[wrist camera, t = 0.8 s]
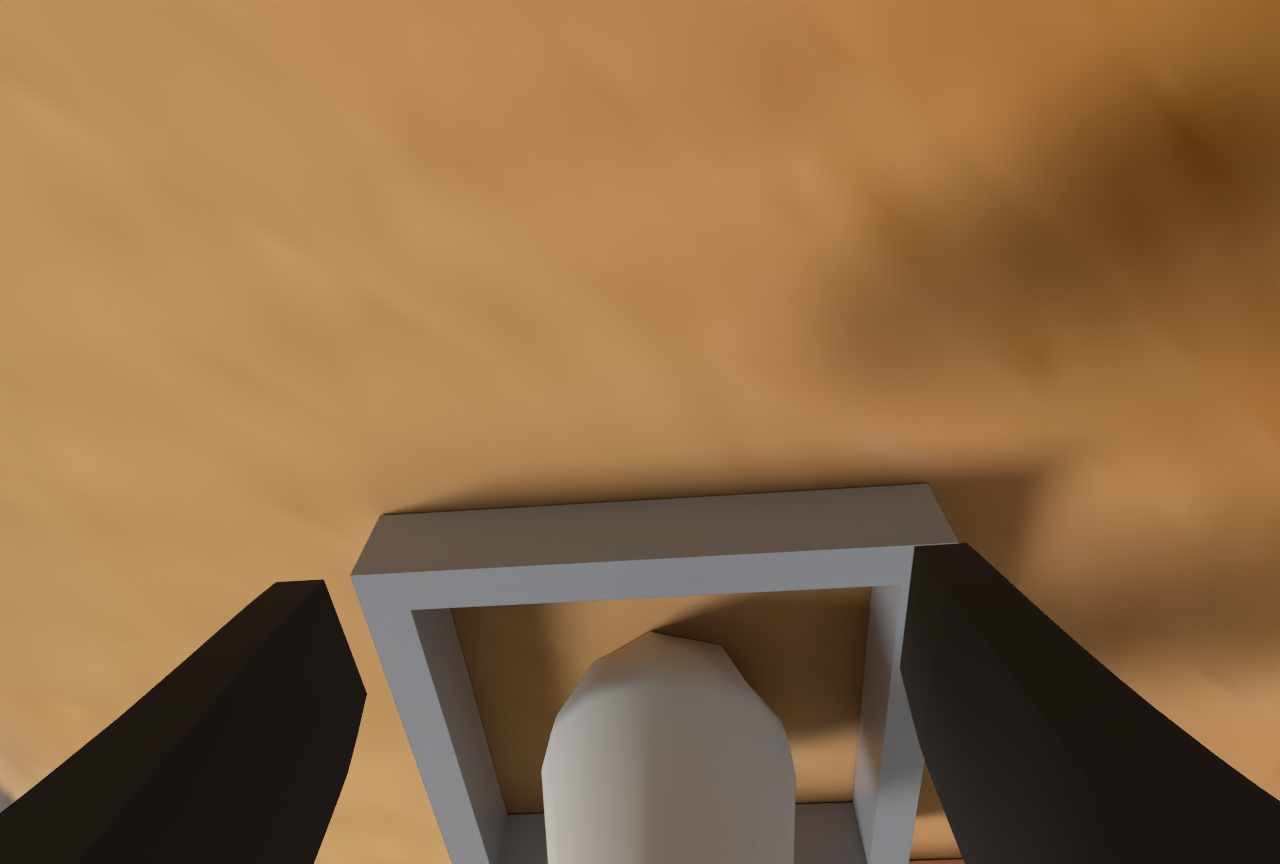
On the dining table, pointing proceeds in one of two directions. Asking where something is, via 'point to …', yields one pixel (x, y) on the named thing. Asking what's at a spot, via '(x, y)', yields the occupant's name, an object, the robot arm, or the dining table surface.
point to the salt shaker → (668, 763)
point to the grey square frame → (646, 568)
